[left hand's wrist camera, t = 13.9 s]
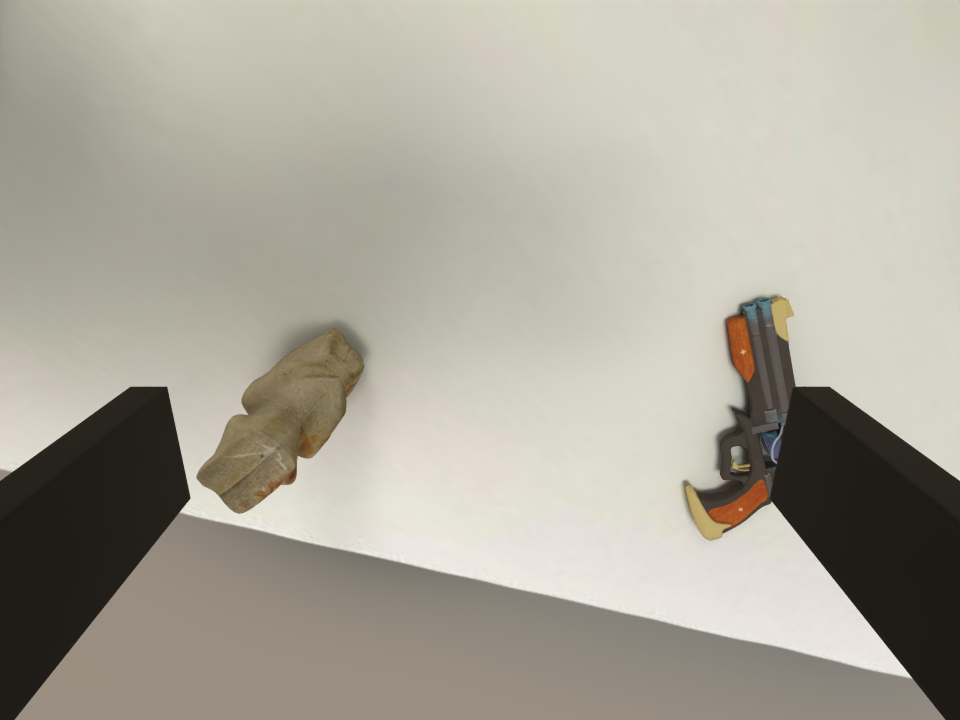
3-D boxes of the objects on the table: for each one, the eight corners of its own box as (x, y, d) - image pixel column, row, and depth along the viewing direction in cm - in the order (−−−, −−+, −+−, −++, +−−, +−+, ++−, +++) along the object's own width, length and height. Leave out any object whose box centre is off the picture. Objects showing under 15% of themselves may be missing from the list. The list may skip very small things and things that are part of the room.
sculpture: (262, 359, 44) (161, 463, 30) (335, 306, 43) (265, 390, 29) (312, 416, 46) (239, 539, 32) (384, 367, 44) (341, 474, 30)
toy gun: (701, 550, 48) (833, 528, 45) (649, 335, 42) (795, 297, 40) (694, 530, 50) (819, 508, 48) (644, 324, 45) (781, 289, 43)
